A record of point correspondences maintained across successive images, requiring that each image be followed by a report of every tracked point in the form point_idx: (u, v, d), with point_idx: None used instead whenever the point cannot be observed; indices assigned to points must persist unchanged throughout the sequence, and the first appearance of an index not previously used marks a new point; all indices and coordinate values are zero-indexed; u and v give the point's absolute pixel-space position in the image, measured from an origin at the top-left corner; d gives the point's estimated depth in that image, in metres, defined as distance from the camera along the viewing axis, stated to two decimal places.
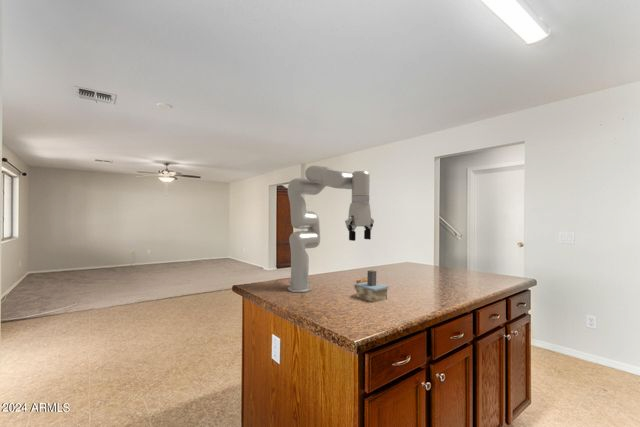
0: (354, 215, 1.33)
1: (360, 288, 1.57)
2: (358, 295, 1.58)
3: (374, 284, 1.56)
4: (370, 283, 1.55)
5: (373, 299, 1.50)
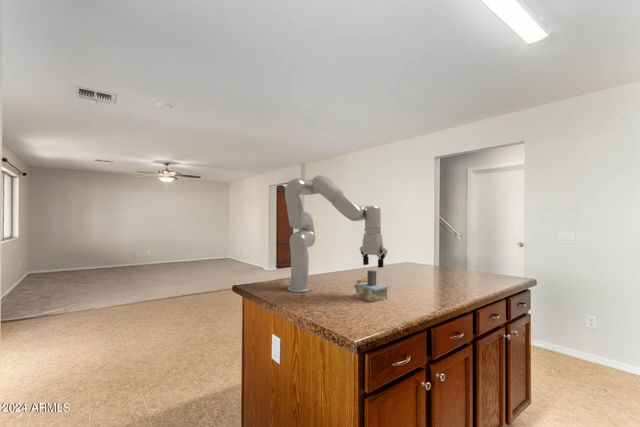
0: (382, 244, 1.53)
1: (360, 288, 1.57)
2: (358, 295, 1.58)
3: (374, 284, 1.56)
4: (370, 283, 1.55)
5: (373, 299, 1.50)
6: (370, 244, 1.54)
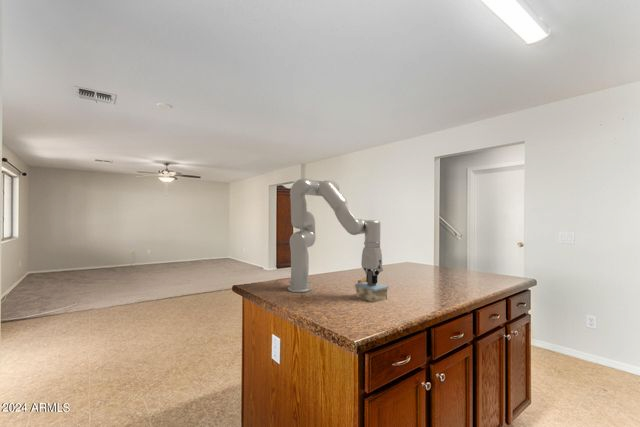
0: (381, 259, 1.54)
1: (360, 288, 1.57)
2: (358, 295, 1.58)
3: (374, 284, 1.56)
4: (370, 283, 1.55)
5: (373, 299, 1.50)
6: (369, 258, 1.54)
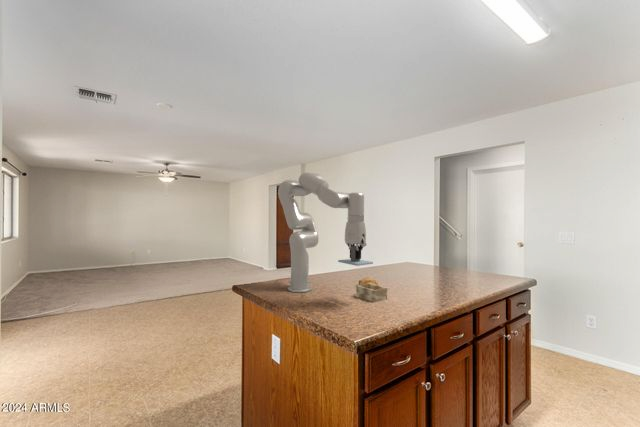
0: (365, 233, 1.46)
1: (360, 288, 1.57)
2: (358, 295, 1.58)
3: (358, 260, 1.49)
4: (353, 259, 1.48)
5: (373, 299, 1.50)
6: (352, 233, 1.47)
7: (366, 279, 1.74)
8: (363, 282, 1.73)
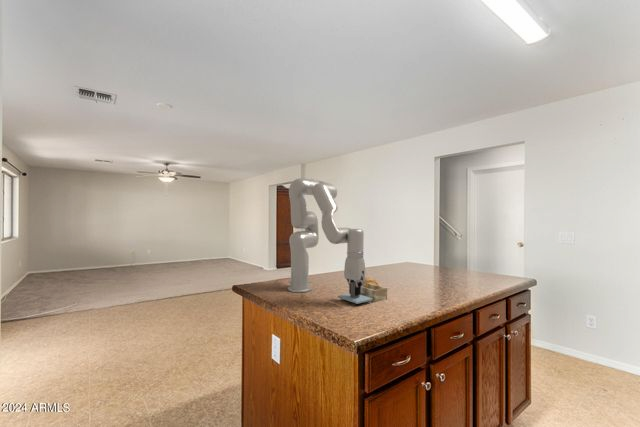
0: (364, 270, 1.47)
1: None
2: None
3: (357, 296, 1.49)
4: (353, 295, 1.48)
5: (373, 299, 1.50)
6: (352, 269, 1.47)
7: (366, 279, 1.74)
8: None
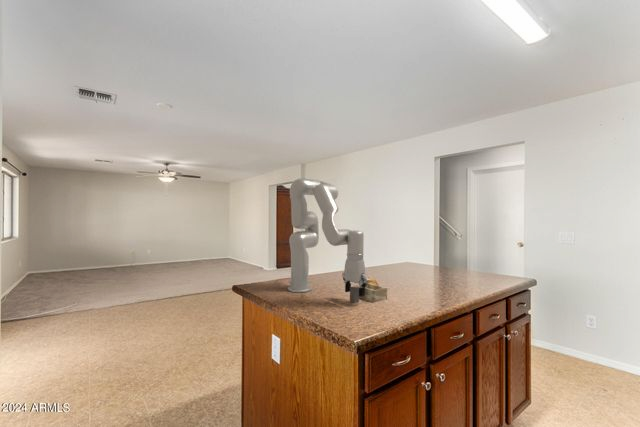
0: (364, 272, 1.47)
1: None
2: None
3: (357, 301, 1.49)
4: (352, 300, 1.49)
5: (373, 299, 1.50)
6: (352, 271, 1.47)
7: None
8: None
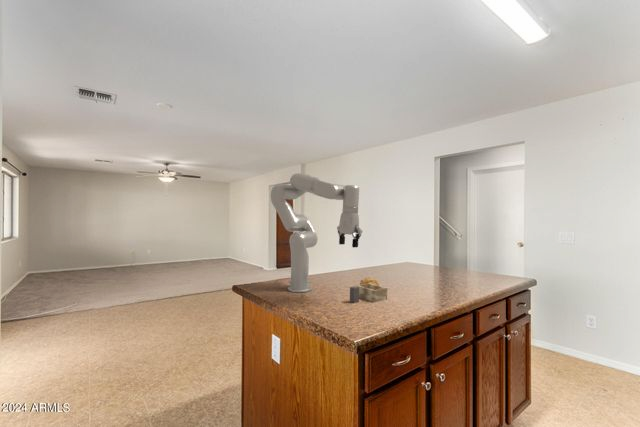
0: (358, 225, 1.52)
1: (360, 288, 1.57)
2: None
3: (357, 301, 1.49)
4: (352, 300, 1.49)
5: (373, 299, 1.50)
6: (346, 223, 1.53)
7: (367, 279, 1.74)
8: (364, 282, 1.73)
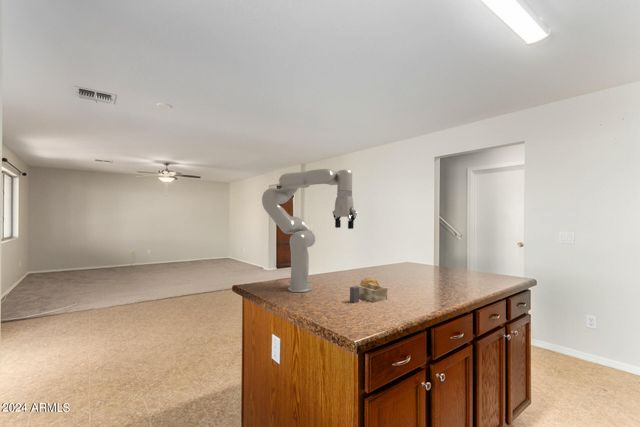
0: (352, 207, 1.59)
1: (360, 288, 1.57)
2: None
3: (357, 301, 1.49)
4: (352, 300, 1.49)
5: (373, 299, 1.50)
6: (341, 206, 1.60)
7: (367, 279, 1.74)
8: (364, 282, 1.73)
